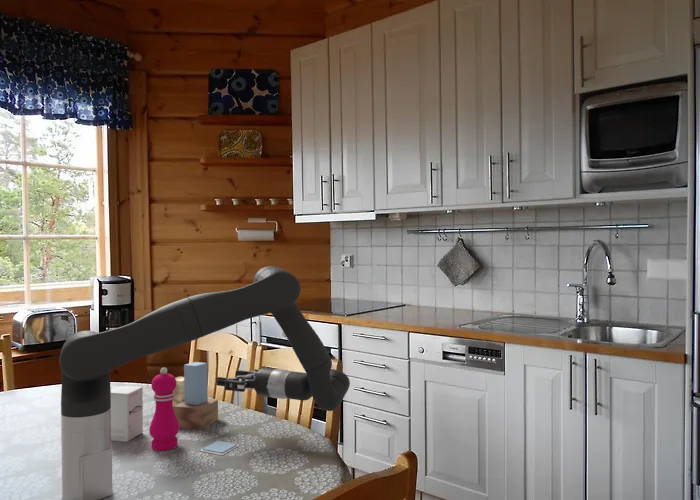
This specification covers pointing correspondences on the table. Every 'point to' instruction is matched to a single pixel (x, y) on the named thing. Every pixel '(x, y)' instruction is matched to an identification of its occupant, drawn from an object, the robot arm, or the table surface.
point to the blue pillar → (195, 383)
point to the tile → (219, 448)
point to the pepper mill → (164, 413)
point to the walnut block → (196, 414)
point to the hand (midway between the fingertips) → (226, 377)
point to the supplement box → (126, 413)
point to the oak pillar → (179, 391)
